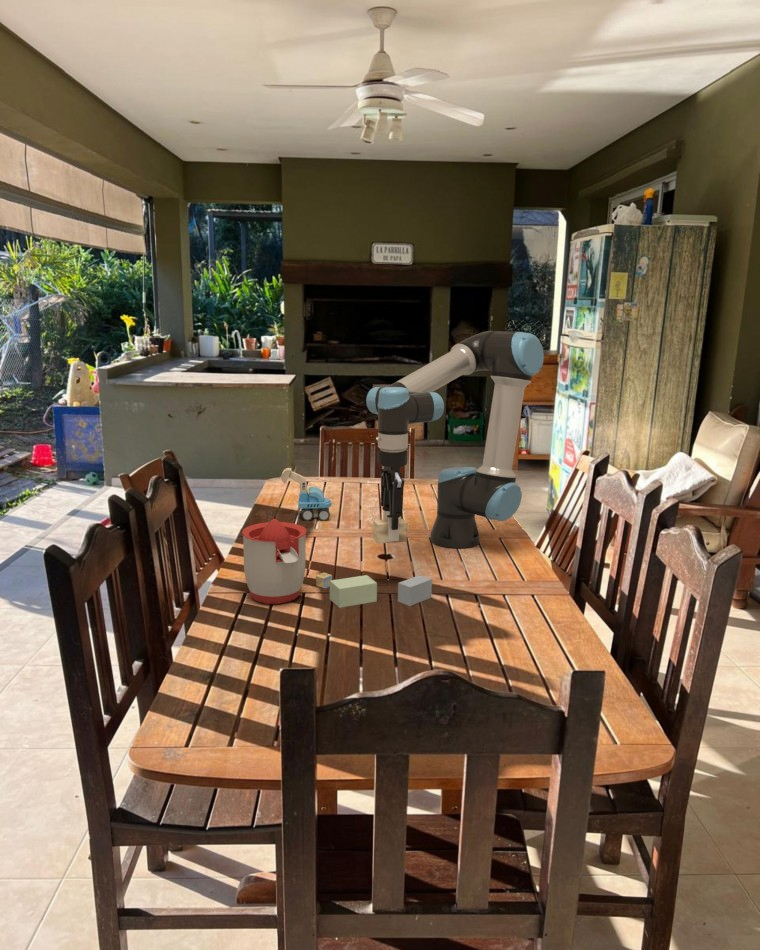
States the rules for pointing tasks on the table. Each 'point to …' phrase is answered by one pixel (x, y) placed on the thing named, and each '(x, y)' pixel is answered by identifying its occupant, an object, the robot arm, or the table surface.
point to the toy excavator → (309, 498)
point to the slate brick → (414, 590)
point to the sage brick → (353, 591)
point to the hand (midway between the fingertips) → (390, 537)
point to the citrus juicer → (274, 560)
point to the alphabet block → (323, 580)
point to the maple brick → (382, 531)
